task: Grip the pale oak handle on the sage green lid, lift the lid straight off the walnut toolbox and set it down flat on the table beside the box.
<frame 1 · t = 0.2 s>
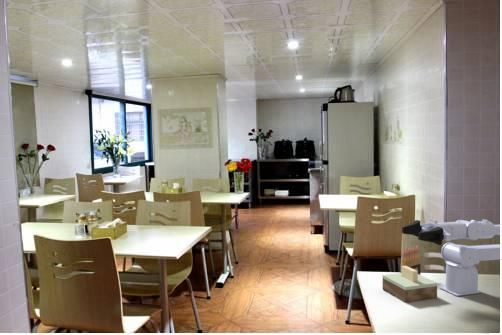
hand: (410, 233, 130), 21 cm above the table, tool horizontal, fingers open, 7 cm apart
toolbox: (408, 293, 136), on the table
toolbox lid: (409, 284, 135), point 3 cm above the table, touching toolbox
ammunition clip: (410, 279, 150), on the table
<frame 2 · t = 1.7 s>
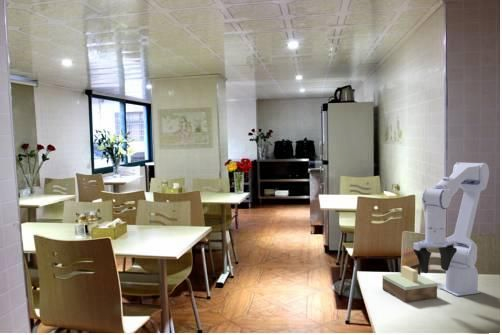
hand: (434, 270, 127), 10 cm above the table, tool pointing down, fingers open, 7 cm apart
nothing on the table moved.
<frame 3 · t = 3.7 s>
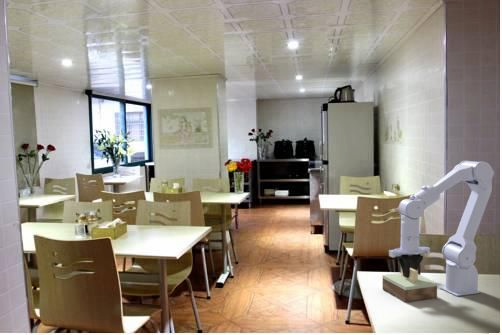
hand: (409, 276, 135), 6 cm above the table, tool pointing down, fingers closed on toolbox lid
toolbox lid: (409, 284, 135), point 3 cm above the table, touching gripper, toolbox
everything else where it was.
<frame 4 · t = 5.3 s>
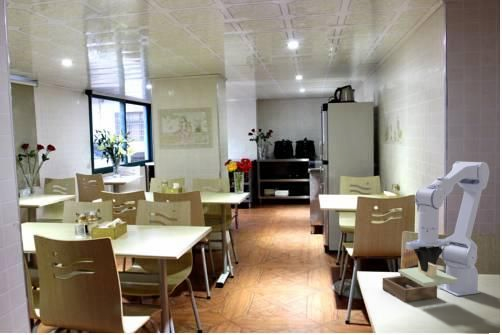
hand: (427, 270, 127), 10 cm above the table, tool pointing down, fingers closed on toolbox lid
toolbox lid: (426, 279, 127), point 7 cm above the table, touching gripper
everything else where it was.
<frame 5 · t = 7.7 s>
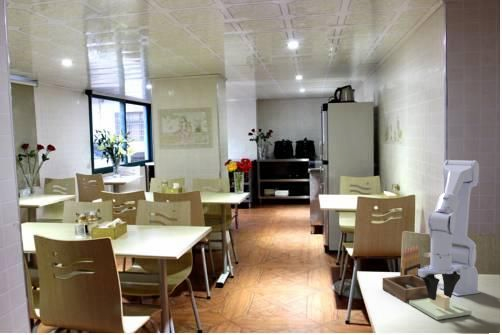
hand: (439, 297, 122), 4 cm above the table, tool pointing down, fingers open, 5 cm apart
toolbox lid: (439, 311, 122), on the table
everything else where it was.
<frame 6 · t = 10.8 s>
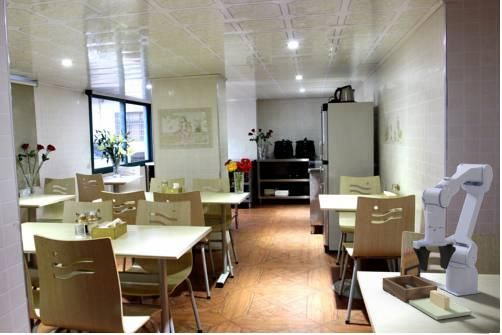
hand: (433, 269, 128), 10 cm above the table, tool pointing down, fingers open, 7 cm apart
nothing on the table moved.
at the end: toolbox lid inside the target area (0.2 cm from its centre), on the table; toolbox lid moved 14.3 cm from its start; the gripper is holding nothing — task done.
